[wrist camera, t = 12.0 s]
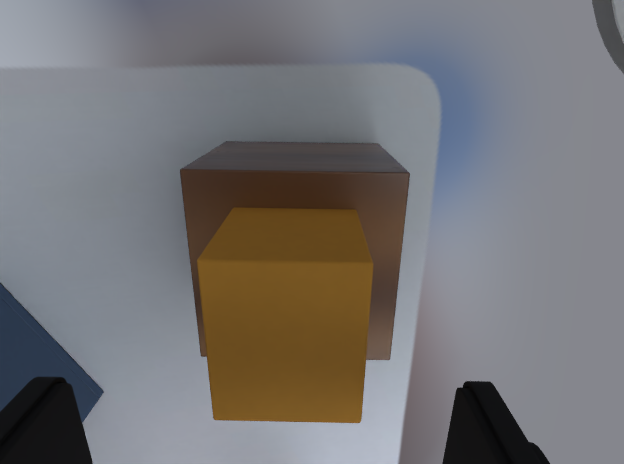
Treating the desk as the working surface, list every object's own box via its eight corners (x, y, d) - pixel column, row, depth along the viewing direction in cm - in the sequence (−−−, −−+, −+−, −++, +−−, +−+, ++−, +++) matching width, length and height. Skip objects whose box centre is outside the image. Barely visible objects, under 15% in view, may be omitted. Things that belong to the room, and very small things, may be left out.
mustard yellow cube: (232, 206, 15) (195, 259, 11) (356, 208, 15) (373, 263, 11) (240, 331, 17) (212, 421, 13) (349, 333, 17) (361, 424, 13)
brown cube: (225, 141, 22) (179, 169, 15) (379, 143, 22) (410, 172, 15) (234, 277, 25) (200, 357, 18) (368, 280, 25) (390, 360, 18)
